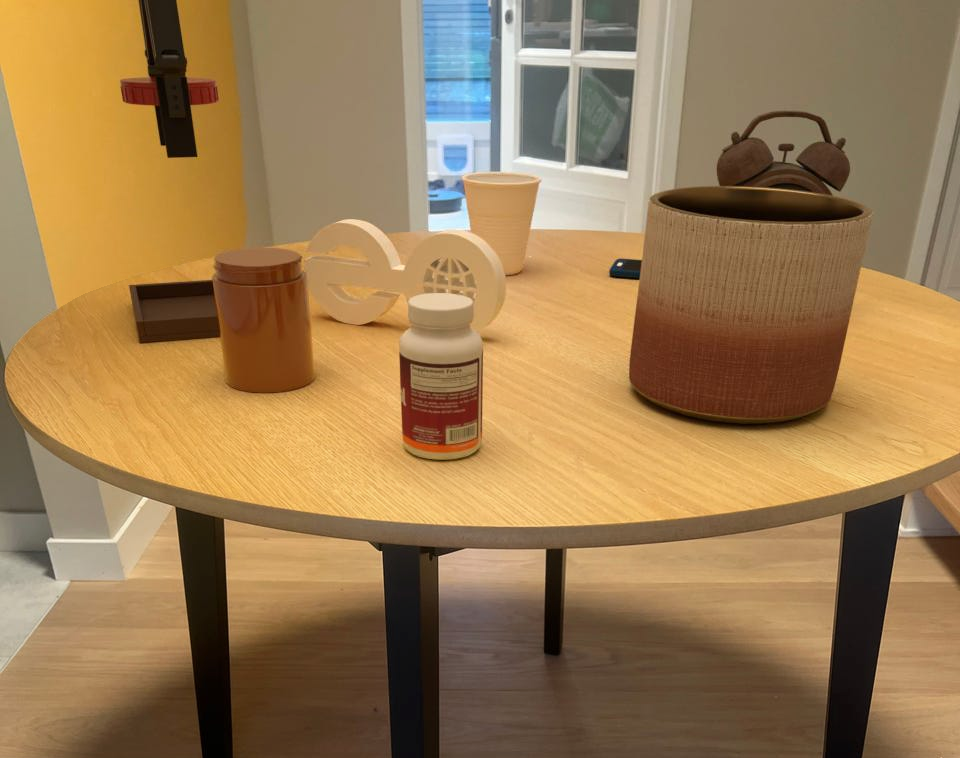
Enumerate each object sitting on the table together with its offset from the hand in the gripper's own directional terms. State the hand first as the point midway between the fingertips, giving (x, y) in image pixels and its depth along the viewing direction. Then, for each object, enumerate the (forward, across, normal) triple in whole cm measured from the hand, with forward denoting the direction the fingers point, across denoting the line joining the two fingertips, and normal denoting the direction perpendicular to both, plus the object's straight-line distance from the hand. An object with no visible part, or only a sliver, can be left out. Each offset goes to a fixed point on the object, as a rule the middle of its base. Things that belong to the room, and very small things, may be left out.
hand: (178, 150), depth 92 cm
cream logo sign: (+16, -9, -20) cm, 27 cm away
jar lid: (-6, 0, 0) cm, 6 cm away
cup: (+16, +13, -39) cm, 44 cm away
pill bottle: (+16, -41, -14) cm, 47 cm away
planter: (+16, -37, -42) cm, 59 cm away
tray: (+16, 0, 0) cm, 16 cm away
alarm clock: (+17, -13, -61) cm, 64 cm away
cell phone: (+16, +5, -59) cm, 61 cm away
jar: (+16, -21, -4) cm, 27 cm away
